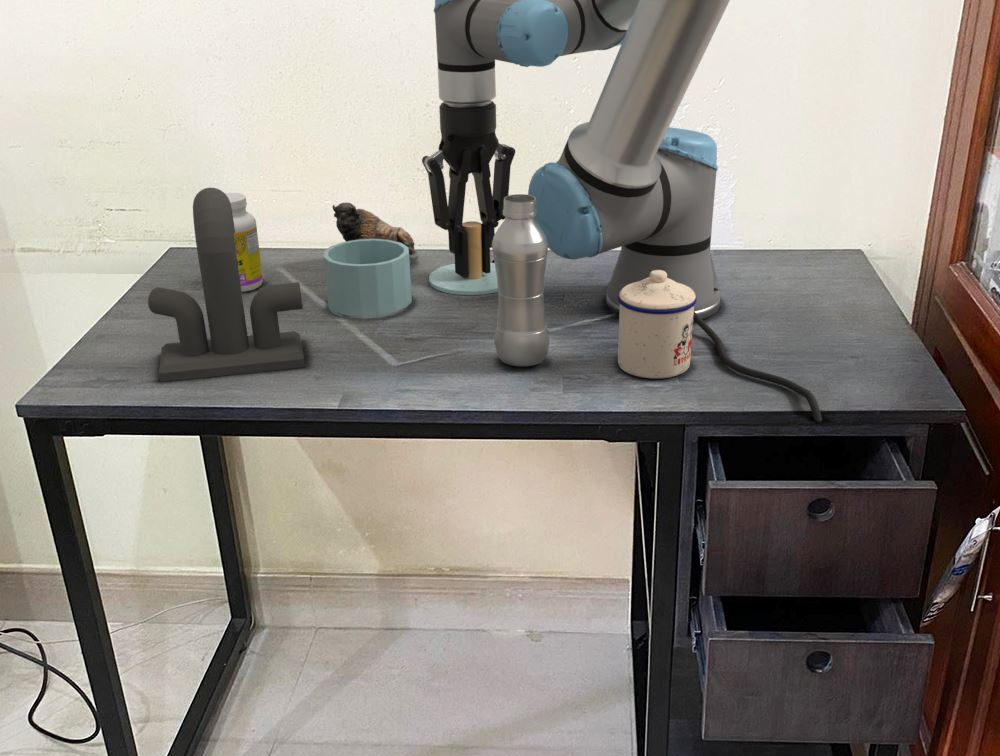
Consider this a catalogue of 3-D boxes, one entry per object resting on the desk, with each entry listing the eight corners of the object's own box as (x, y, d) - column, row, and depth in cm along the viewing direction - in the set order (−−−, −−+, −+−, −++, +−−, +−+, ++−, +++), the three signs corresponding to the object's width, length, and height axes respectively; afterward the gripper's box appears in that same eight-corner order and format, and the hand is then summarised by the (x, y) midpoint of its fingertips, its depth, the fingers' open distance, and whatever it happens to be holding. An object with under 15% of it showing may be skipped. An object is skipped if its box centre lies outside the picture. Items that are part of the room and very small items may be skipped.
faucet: (301, 320, 153) (284, 169, 143) (310, 366, 140) (291, 203, 130) (161, 334, 150) (134, 180, 140) (157, 382, 137) (126, 216, 127)
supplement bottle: (207, 290, 164) (193, 201, 157) (233, 276, 169) (221, 189, 163) (247, 296, 162) (235, 205, 155) (272, 281, 167) (261, 193, 160)
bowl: (425, 309, 156) (422, 256, 152) (347, 326, 151) (342, 271, 147) (391, 285, 164) (387, 234, 161) (316, 300, 160) (310, 247, 156)
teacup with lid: (689, 383, 133) (696, 287, 128) (611, 378, 135) (614, 283, 129) (695, 344, 144) (701, 253, 138) (622, 339, 145) (626, 250, 139)
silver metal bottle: (532, 377, 136) (531, 209, 126) (484, 365, 139) (479, 201, 129) (559, 358, 140) (560, 195, 130) (512, 347, 144) (509, 188, 134)
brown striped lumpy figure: (418, 260, 174) (414, 193, 169) (420, 275, 168) (416, 207, 163) (338, 264, 173) (332, 197, 168) (337, 279, 167) (331, 210, 162)
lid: (533, 288, 162) (533, 228, 158) (453, 305, 157) (451, 243, 153) (490, 264, 172) (489, 206, 167) (414, 279, 167) (411, 220, 162)
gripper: (506, 90, 158) (508, 256, 170) (400, 103, 151) (411, 275, 163) (533, 99, 152) (534, 270, 164) (425, 113, 146) (434, 290, 157)
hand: (472, 272), depth 163 cm, fingers closed on lid, 3 cm apart
